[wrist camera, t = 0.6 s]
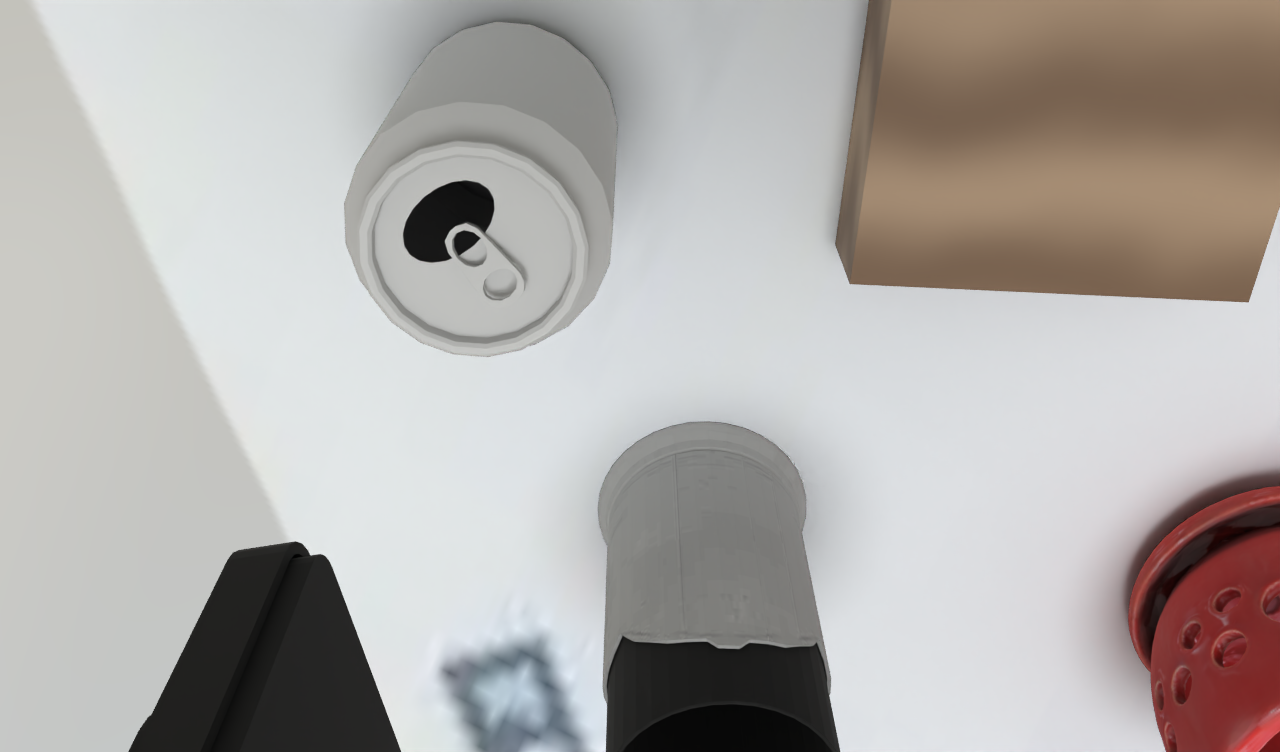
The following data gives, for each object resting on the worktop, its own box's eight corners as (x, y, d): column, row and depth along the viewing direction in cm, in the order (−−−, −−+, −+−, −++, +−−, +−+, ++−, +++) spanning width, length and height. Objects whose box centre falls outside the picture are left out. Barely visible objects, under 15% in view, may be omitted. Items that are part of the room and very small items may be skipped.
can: (517, -32, 40) (474, 58, 29) (661, 135, 43) (669, 273, 32) (361, 111, 42) (270, 243, 32) (507, 261, 45) (468, 428, 35)
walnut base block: (889, -168, 38) (914, -156, 35) (1321, -144, 39) (1389, -130, 35) (833, 239, 45) (849, 283, 42) (1201, 257, 46) (1248, 302, 42)
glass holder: (816, 425, 49) (884, 689, 35) (783, 689, 55) (829, 992, 42) (599, 418, 48) (586, 681, 35) (593, 683, 55) (580, 987, 42)
